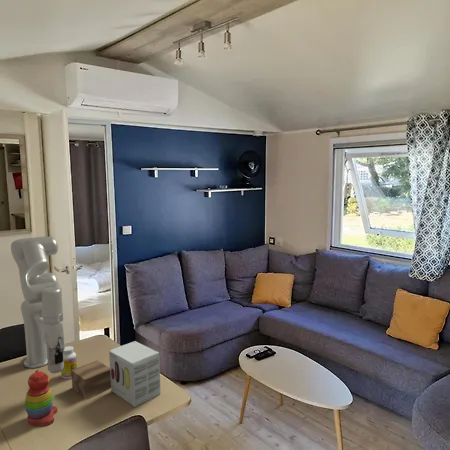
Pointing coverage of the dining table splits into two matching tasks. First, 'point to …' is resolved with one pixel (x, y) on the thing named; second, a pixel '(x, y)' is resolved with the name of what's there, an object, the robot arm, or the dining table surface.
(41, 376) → the stacking bear
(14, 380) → the dining table surface
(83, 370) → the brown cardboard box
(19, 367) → the dining table surface
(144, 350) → the supplement box
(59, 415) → the dining table surface
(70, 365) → the supplement bottle
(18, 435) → the dining table surface
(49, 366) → the energy drink can
